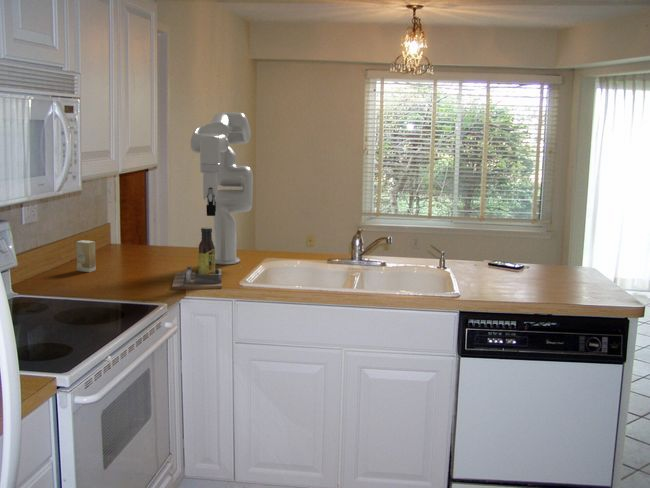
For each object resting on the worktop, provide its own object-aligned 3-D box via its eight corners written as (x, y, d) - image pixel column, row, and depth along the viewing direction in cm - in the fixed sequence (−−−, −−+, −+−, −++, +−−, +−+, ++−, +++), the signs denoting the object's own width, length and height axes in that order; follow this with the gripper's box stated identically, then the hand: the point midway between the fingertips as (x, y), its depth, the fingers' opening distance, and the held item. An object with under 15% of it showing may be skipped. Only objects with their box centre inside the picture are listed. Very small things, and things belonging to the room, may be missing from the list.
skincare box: (76, 271, 276) (75, 241, 274) (83, 269, 281) (82, 239, 278) (90, 272, 274) (88, 242, 272) (96, 270, 278) (95, 240, 276)
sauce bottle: (211, 281, 257) (210, 229, 253) (196, 280, 258) (195, 229, 255) (217, 277, 263) (217, 227, 260) (202, 276, 265) (201, 226, 261)
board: (175, 274, 272) (175, 265, 272) (221, 273, 275) (221, 264, 274) (171, 289, 249) (171, 278, 248) (221, 288, 252) (221, 277, 251)
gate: (187, 277, 264) (187, 266, 263) (191, 277, 264) (191, 266, 264) (186, 283, 254) (186, 272, 254) (190, 283, 255) (190, 271, 254)
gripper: (201, 166, 263) (202, 210, 266) (199, 170, 246) (200, 217, 249) (220, 166, 264) (221, 210, 267) (220, 170, 247) (221, 217, 250)
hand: (211, 213), depth 258 cm, fingers open, 9 cm apart
